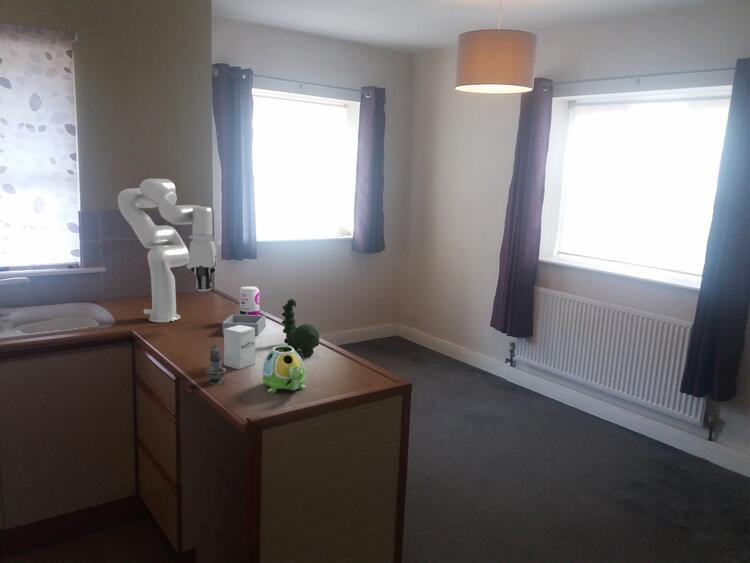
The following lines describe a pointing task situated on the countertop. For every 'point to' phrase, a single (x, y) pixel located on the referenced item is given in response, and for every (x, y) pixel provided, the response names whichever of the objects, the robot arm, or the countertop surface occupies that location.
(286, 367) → the turtle holder
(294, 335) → the toy figurine
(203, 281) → the beverage can
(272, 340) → the countertop surface
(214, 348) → the grey tower figurine
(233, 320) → the tray
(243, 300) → the supplement can
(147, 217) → the robot arm
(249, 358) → the supplement box
